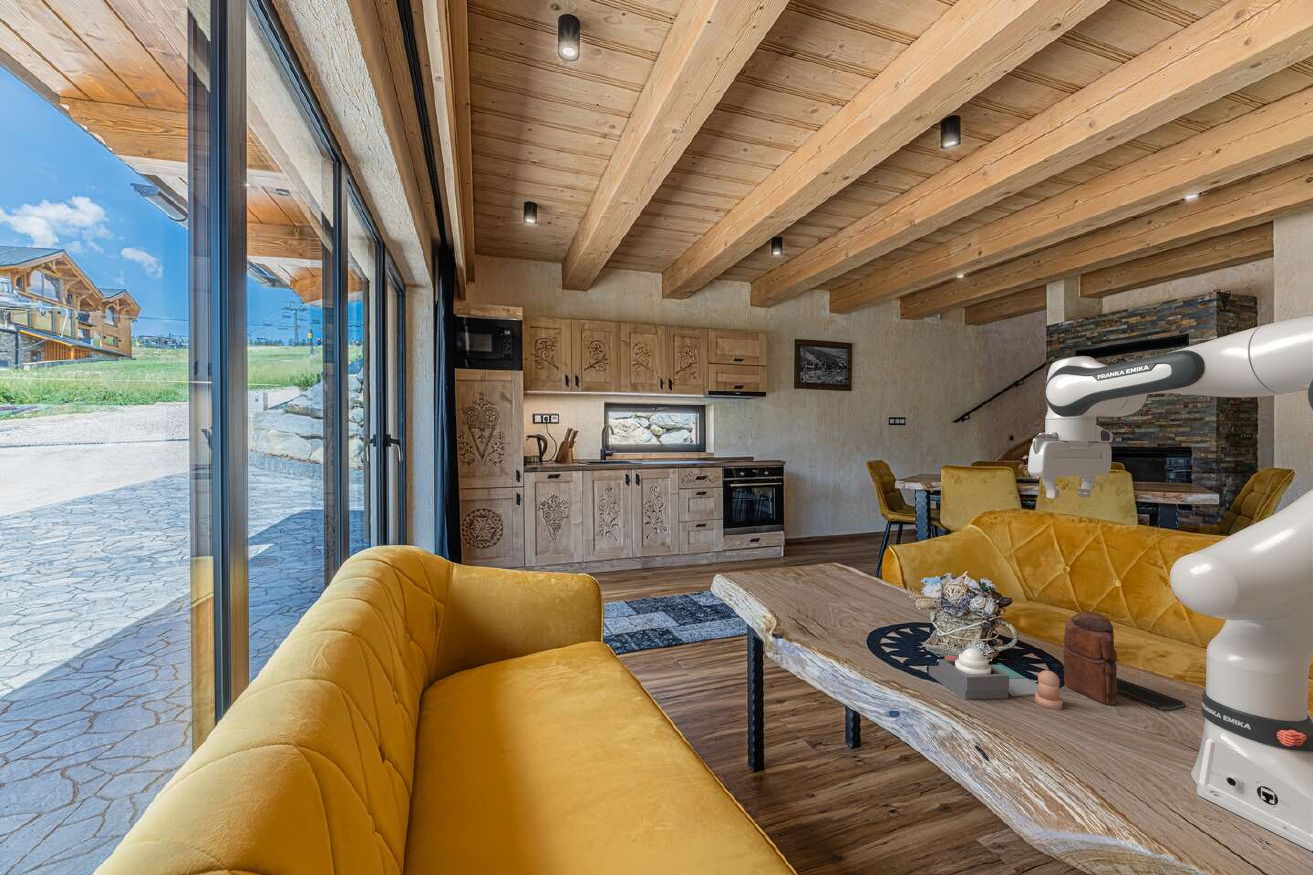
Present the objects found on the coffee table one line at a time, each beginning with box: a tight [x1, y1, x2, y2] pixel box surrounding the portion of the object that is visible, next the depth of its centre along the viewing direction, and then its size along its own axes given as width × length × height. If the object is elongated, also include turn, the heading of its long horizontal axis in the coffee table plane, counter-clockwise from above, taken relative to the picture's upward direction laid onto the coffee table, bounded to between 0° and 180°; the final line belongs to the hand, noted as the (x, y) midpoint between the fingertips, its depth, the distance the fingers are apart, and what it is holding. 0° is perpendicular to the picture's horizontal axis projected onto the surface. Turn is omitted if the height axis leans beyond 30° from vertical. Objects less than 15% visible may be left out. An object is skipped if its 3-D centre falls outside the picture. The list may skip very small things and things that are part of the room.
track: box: [990, 664, 1038, 697], centre depth 131 cm, size 16×10×1 cm, turn 7°
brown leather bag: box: [1063, 611, 1118, 706], centre depth 125 cm, size 12×6×18 cm, turn 13°
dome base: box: [928, 655, 1009, 701], centre depth 127 cm, size 13×10×5 cm
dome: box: [955, 647, 991, 675], centre depth 125 cm, size 7×7×5 cm
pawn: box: [1034, 669, 1064, 711], centre depth 119 cm, size 5×5×7 cm
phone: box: [1116, 676, 1186, 712], centre depth 125 cm, size 8×1×15 cm
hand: (1068, 497), depth 121 cm, fingers open, 8 cm apart
